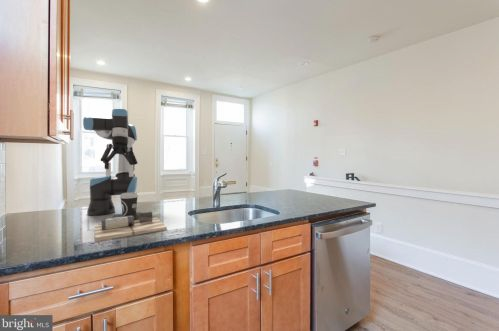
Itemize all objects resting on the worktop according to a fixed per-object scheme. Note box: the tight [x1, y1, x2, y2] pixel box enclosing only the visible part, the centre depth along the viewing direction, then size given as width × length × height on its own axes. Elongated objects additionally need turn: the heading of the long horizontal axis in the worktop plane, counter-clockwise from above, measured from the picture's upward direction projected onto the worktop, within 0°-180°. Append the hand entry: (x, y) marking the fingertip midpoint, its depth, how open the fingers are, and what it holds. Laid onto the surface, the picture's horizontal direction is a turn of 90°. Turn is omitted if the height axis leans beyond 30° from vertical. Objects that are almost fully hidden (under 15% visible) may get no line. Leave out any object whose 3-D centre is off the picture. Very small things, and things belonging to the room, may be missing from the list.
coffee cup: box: [119, 192, 139, 220], centre depth 140 cm, size 10×10×15 cm
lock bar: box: [100, 216, 134, 230], centre depth 120 cm, size 14×4×5 cm, turn 123°
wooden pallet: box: [94, 210, 168, 242], centre depth 122 cm, size 21×30×6 cm
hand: (120, 176), depth 130 cm, fingers open, 13 cm apart
